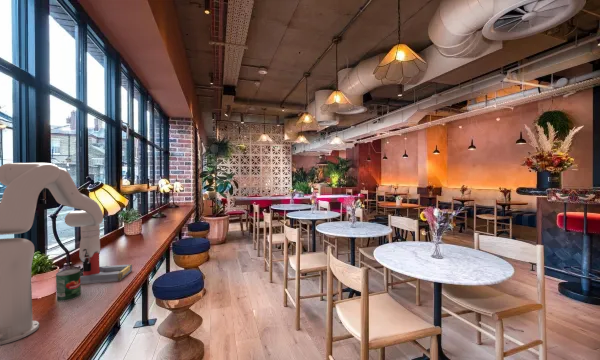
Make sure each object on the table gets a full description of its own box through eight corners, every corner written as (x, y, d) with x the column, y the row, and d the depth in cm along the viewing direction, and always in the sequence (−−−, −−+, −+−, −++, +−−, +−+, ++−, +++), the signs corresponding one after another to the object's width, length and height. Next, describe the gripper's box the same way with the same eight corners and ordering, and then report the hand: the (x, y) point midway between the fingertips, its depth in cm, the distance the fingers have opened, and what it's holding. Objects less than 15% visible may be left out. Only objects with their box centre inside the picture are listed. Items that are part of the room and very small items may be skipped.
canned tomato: (62, 294, 117) (61, 270, 117) (84, 291, 120) (83, 267, 119) (52, 303, 109) (51, 276, 109) (76, 299, 112) (75, 273, 112)
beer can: (79, 277, 133) (79, 253, 133) (92, 272, 139) (91, 250, 139) (90, 278, 131) (90, 254, 131) (103, 273, 138) (102, 250, 138)
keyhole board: (119, 281, 131) (119, 274, 131) (72, 285, 127) (72, 277, 127) (132, 270, 146) (132, 263, 146) (91, 273, 142) (91, 266, 142)
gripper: (91, 230, 143) (92, 263, 143) (70, 237, 126) (71, 275, 126) (107, 229, 144) (108, 262, 145) (89, 236, 127) (90, 274, 128)
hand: (91, 268), depth 135 cm, fingers closed on beer can, 6 cm apart
